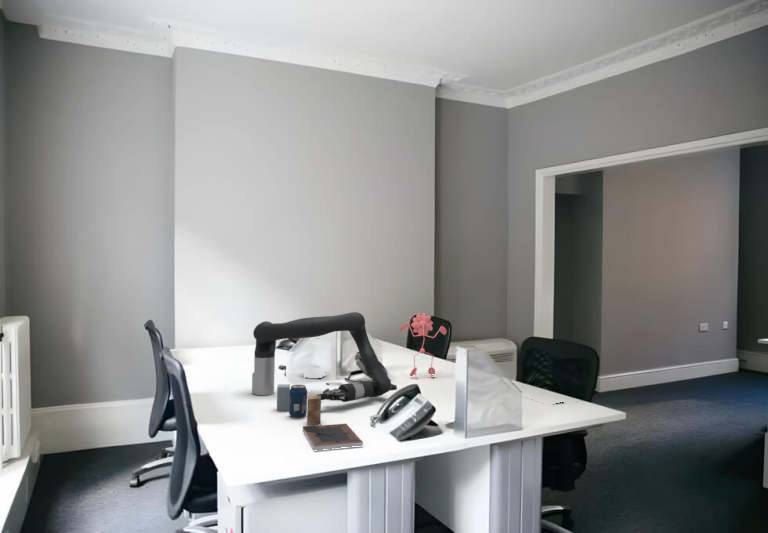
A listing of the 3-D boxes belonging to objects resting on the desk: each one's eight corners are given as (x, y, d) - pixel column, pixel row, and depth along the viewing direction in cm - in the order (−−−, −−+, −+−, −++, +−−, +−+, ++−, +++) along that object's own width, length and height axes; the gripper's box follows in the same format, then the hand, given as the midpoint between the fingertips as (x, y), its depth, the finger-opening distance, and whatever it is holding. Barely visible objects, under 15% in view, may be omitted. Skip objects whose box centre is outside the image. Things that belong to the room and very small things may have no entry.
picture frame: (302, 433, 197) (314, 453, 177) (302, 426, 197) (314, 445, 177) (346, 429, 203) (362, 448, 182) (346, 422, 203) (362, 441, 182)
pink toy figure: (448, 379, 291) (448, 314, 291) (401, 380, 286) (402, 314, 286) (439, 373, 306) (440, 311, 306) (394, 375, 301) (395, 312, 301)
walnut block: (307, 425, 205) (307, 398, 205) (307, 421, 210) (307, 395, 210) (320, 424, 206) (321, 398, 206) (320, 421, 211) (320, 395, 210)
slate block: (276, 411, 222) (277, 387, 222) (277, 408, 227) (277, 384, 227) (289, 411, 223) (289, 387, 223) (289, 408, 228) (289, 384, 228)
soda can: (291, 413, 220) (291, 383, 220) (308, 413, 220) (308, 384, 220) (287, 418, 213) (288, 387, 213) (304, 418, 213) (305, 388, 213)
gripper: (342, 380, 239) (309, 385, 228) (360, 386, 229) (327, 391, 217) (342, 397, 239) (308, 403, 228) (360, 403, 229) (326, 410, 218)
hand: (317, 397), depth 223 cm, fingers closed
